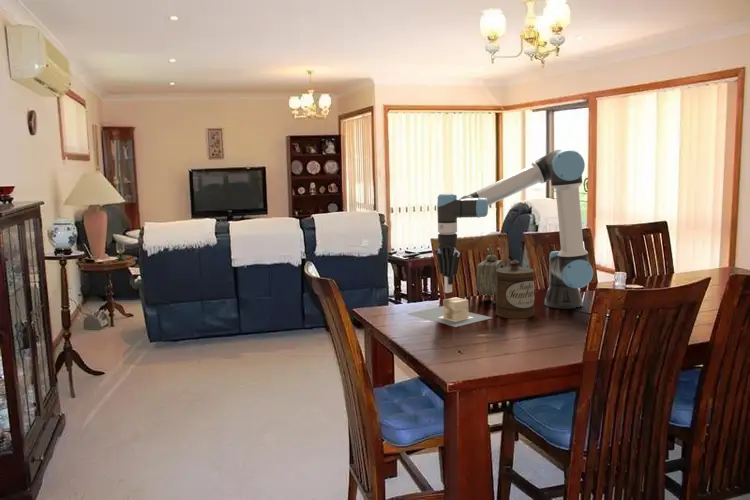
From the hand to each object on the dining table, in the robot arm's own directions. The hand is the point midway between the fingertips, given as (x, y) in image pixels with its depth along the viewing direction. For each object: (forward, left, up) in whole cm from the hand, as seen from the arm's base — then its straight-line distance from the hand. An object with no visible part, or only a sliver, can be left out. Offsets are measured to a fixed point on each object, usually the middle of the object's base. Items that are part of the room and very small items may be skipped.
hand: (448, 292), depth 260 cm
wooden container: (-16, -21, -10) cm, 28 cm away
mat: (0, 0, -10) cm, 10 cm away
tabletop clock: (+8, -33, -10) cm, 35 cm away
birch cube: (-4, 0, -3) cm, 5 cm away
